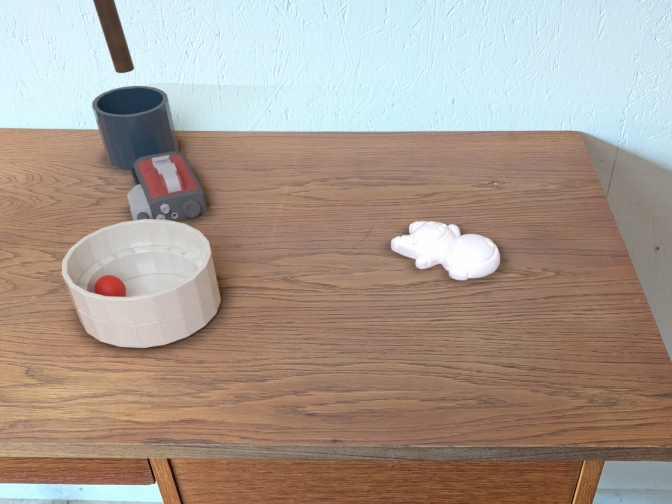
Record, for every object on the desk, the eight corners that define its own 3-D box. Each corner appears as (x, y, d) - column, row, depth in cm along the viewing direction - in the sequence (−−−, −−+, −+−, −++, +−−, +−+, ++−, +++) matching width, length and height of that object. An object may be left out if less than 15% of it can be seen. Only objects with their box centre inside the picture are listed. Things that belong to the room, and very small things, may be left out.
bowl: (62, 350, 70) (39, 296, 66) (106, 268, 79) (89, 216, 75) (204, 355, 70) (191, 302, 65) (233, 273, 79) (223, 221, 74)
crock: (99, 172, 93) (81, 115, 88) (120, 140, 99) (105, 84, 93) (170, 175, 93) (156, 117, 87) (187, 142, 98) (175, 86, 93)
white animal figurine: (425, 222, 85) (426, 197, 83) (513, 256, 81) (517, 231, 78) (380, 255, 81) (379, 230, 78) (470, 293, 76) (473, 267, 74)
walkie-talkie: (118, 182, 91) (149, 264, 80) (108, 146, 88) (138, 227, 76) (187, 169, 94) (227, 247, 82) (180, 134, 90) (220, 210, 78)
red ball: (134, 281, 73) (119, 280, 75) (107, 271, 71) (92, 270, 73) (128, 310, 73) (113, 308, 75) (101, 301, 71) (86, 299, 73)
